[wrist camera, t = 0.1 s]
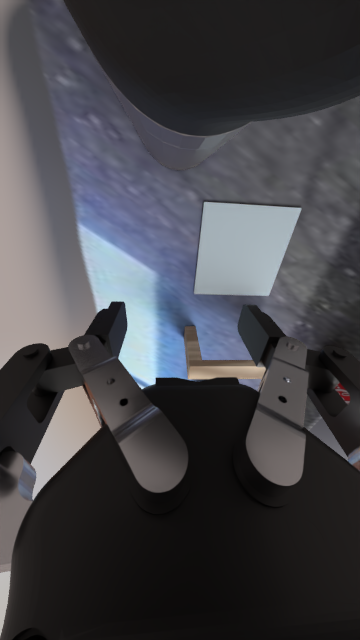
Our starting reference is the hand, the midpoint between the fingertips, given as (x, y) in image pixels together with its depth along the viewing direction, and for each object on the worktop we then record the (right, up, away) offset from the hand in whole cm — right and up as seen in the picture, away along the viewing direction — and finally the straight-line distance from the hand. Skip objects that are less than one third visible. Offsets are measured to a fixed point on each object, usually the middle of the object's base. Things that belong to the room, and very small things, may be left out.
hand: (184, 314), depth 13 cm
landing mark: (+9, +9, +15) cm, 20 cm away
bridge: (+8, -3, +24) cm, 25 cm away
